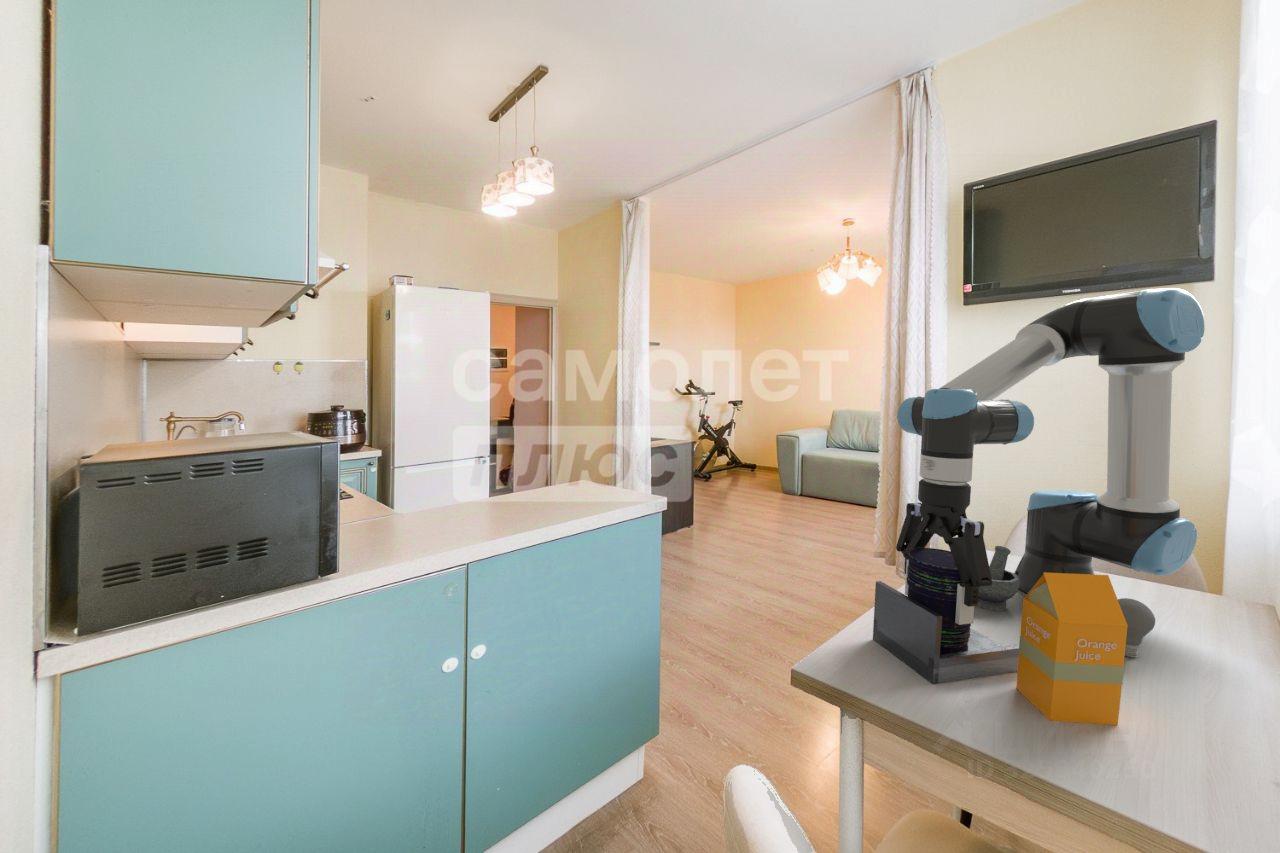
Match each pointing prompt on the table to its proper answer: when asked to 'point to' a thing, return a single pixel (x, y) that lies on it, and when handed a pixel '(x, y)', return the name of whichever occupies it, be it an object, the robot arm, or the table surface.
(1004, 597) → the mortar and pestle
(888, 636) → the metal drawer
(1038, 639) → the orange juice
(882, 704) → the table surface
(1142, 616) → the light bulb
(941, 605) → the dark navy cylinder
